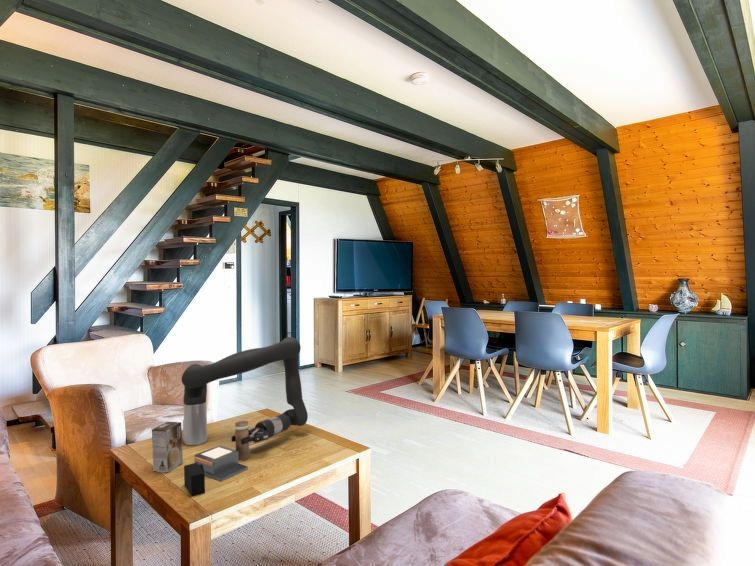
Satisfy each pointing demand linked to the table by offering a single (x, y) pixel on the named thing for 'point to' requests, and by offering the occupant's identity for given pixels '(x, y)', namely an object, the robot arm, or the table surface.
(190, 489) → the digital camera
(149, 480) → the table surface
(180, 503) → the table surface
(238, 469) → the step stand
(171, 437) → the coffee box
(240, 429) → the column
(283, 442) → the table surface
